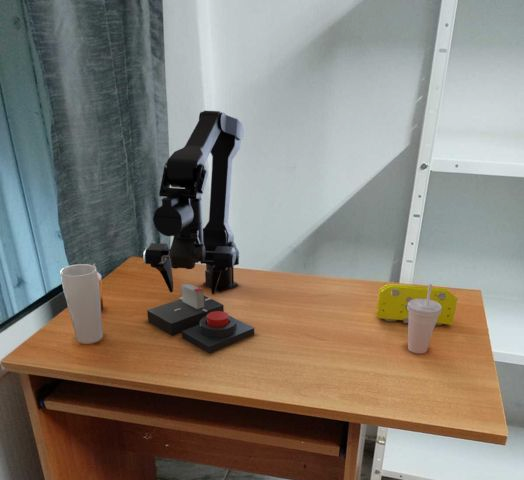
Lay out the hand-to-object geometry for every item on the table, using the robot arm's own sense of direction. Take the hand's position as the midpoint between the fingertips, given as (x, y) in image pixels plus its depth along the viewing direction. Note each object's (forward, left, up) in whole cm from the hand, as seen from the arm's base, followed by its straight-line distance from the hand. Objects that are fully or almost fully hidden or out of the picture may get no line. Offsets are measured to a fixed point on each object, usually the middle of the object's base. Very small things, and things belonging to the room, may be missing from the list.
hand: (192, 292), depth 116 cm
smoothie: (-24, +42, -6) cm, 49 cm away
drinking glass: (+22, -6, -6) cm, 24 cm away
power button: (+2, +11, -3) cm, 12 cm away
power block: (+2, +11, -6) cm, 13 cm away
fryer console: (+2, 0, -6) cm, 6 cm away
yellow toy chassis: (-35, +34, -6) cm, 49 cm away
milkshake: (+14, -18, -6) cm, 24 cm away
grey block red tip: (0, 0, -3) cm, 3 cm away
